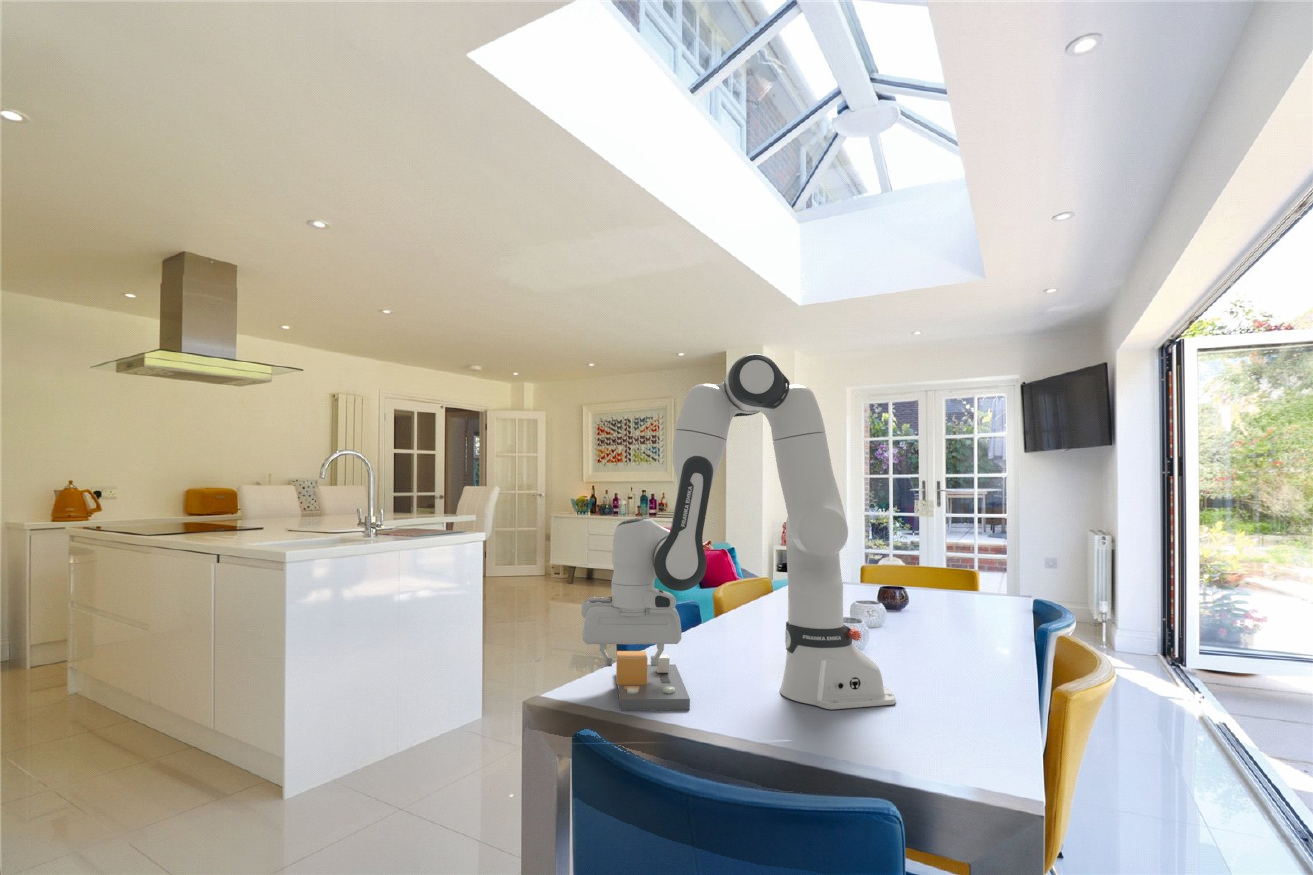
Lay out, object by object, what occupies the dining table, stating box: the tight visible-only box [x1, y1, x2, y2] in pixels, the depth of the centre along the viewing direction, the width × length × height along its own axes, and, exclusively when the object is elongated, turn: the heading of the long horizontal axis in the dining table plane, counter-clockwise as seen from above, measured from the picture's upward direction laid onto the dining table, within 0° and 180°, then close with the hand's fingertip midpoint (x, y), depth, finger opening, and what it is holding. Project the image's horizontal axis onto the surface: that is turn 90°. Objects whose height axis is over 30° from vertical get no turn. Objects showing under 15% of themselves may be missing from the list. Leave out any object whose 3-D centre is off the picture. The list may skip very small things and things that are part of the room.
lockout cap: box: [615, 650, 648, 686], centre depth 133 cm, size 6×6×5 cm
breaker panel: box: [617, 663, 691, 711], centre depth 133 cm, size 13×24×3 cm, turn 5°
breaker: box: [656, 653, 670, 673], centre depth 139 cm, size 3×3×3 cm
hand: (631, 665), depth 133 cm, fingers open, 8 cm apart
